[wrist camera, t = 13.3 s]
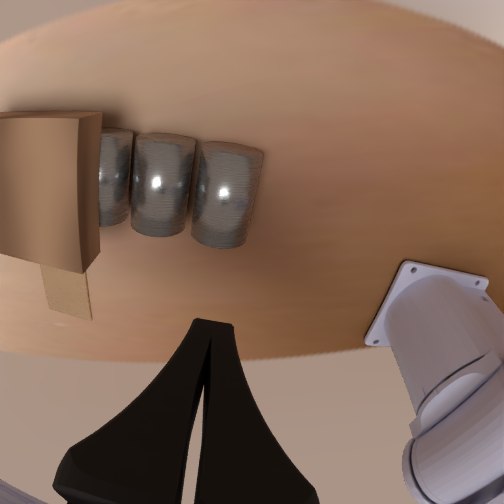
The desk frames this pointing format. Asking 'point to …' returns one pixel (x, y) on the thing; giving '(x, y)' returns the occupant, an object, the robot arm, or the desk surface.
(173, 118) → the desk surface
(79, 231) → the slab
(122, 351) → the desk surface
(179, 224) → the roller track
